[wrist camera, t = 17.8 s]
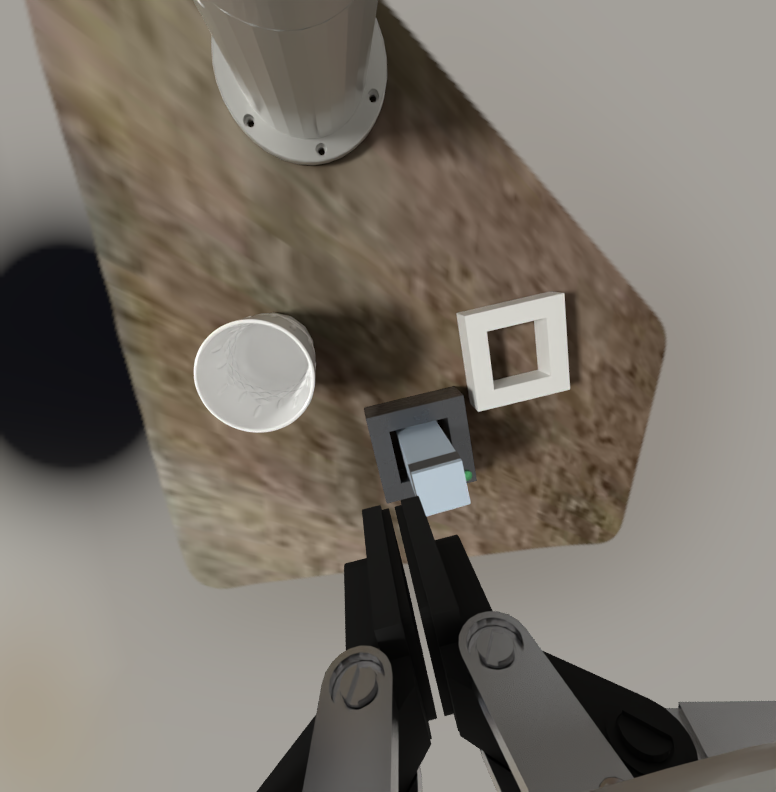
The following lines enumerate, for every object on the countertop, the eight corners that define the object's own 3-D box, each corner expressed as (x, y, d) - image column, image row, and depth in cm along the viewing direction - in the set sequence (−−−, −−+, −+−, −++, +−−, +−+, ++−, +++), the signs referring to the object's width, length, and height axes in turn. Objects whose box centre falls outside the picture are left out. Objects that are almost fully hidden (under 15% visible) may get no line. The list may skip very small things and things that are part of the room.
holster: (456, 313, 37) (464, 316, 34) (549, 291, 37) (564, 292, 35) (470, 403, 40) (478, 411, 37) (556, 382, 40) (570, 389, 38)
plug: (393, 425, 40) (411, 474, 30) (432, 414, 40) (462, 460, 30) (402, 460, 41) (422, 518, 31) (440, 450, 41) (471, 504, 32)
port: (363, 407, 39) (366, 419, 36) (454, 386, 39) (464, 395, 36) (383, 487, 42) (387, 504, 39) (467, 466, 42) (477, 481, 39)
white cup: (250, 290, 34) (216, 298, 25) (334, 328, 36) (333, 349, 27) (219, 371, 36) (177, 407, 26) (301, 403, 38) (289, 448, 28)
